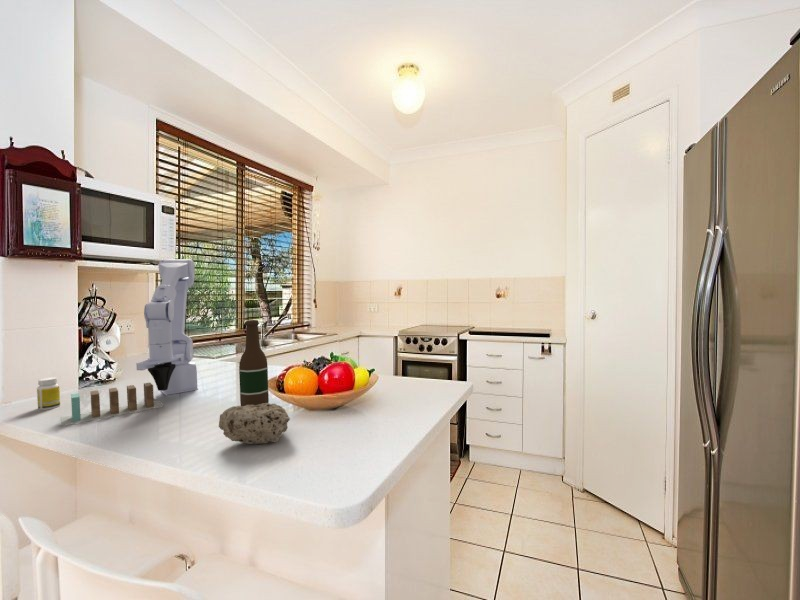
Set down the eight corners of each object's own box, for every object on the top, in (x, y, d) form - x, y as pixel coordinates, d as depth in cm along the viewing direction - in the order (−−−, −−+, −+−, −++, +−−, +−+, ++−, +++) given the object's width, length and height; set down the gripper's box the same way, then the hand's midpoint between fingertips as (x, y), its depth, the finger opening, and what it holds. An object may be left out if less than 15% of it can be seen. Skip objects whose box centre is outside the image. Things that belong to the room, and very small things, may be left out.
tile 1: (151, 402, 114) (150, 382, 114) (154, 406, 110) (153, 385, 110) (144, 404, 113) (143, 383, 113) (147, 407, 109) (146, 386, 109)
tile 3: (117, 409, 109) (116, 387, 109) (119, 413, 105) (118, 390, 105) (110, 410, 108) (108, 388, 108) (111, 414, 104) (110, 391, 104)
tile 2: (134, 405, 111) (133, 384, 111) (137, 409, 108) (136, 388, 108) (127, 407, 110) (126, 386, 110) (129, 411, 107) (128, 389, 106)
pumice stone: (218, 458, 76) (216, 417, 76) (220, 436, 87) (219, 401, 87) (292, 445, 81) (290, 407, 81) (285, 427, 92) (284, 393, 92)
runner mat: (158, 400, 117) (158, 400, 117) (164, 406, 110) (164, 406, 110) (60, 418, 102) (60, 417, 102) (61, 426, 96) (60, 425, 96)
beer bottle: (245, 413, 103) (242, 322, 102) (235, 407, 109) (232, 320, 108) (274, 407, 108) (271, 319, 107) (263, 401, 114) (260, 318, 113)
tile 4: (99, 412, 106) (97, 390, 106) (100, 416, 103) (99, 393, 102) (91, 413, 105) (90, 391, 105) (92, 418, 101) (91, 394, 101)
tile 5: (80, 415, 104) (78, 393, 103) (80, 420, 100) (79, 396, 100) (72, 417, 102) (70, 394, 102) (72, 421, 99) (71, 398, 99)
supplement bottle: (64, 405, 114) (63, 376, 114) (48, 410, 109) (47, 380, 109) (49, 405, 115) (48, 376, 114) (33, 410, 110) (31, 380, 110)
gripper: (169, 339, 121) (171, 383, 122) (126, 347, 107) (128, 396, 108) (188, 339, 120) (190, 384, 120) (147, 347, 106) (149, 397, 106)
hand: (162, 390), depth 114 cm, fingers closed
